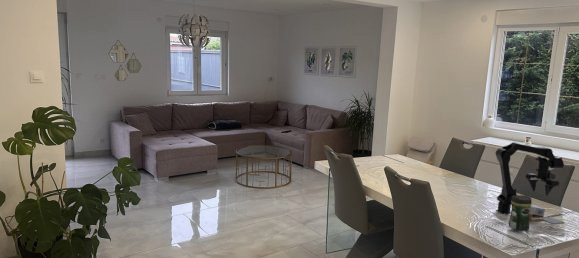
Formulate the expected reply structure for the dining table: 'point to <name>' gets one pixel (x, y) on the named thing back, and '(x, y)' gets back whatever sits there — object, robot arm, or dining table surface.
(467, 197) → the dining table surface
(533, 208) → the medicine box
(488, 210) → the dining table surface
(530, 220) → the shelf bay
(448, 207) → the dining table surface
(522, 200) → the coffee jar
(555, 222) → the pad
